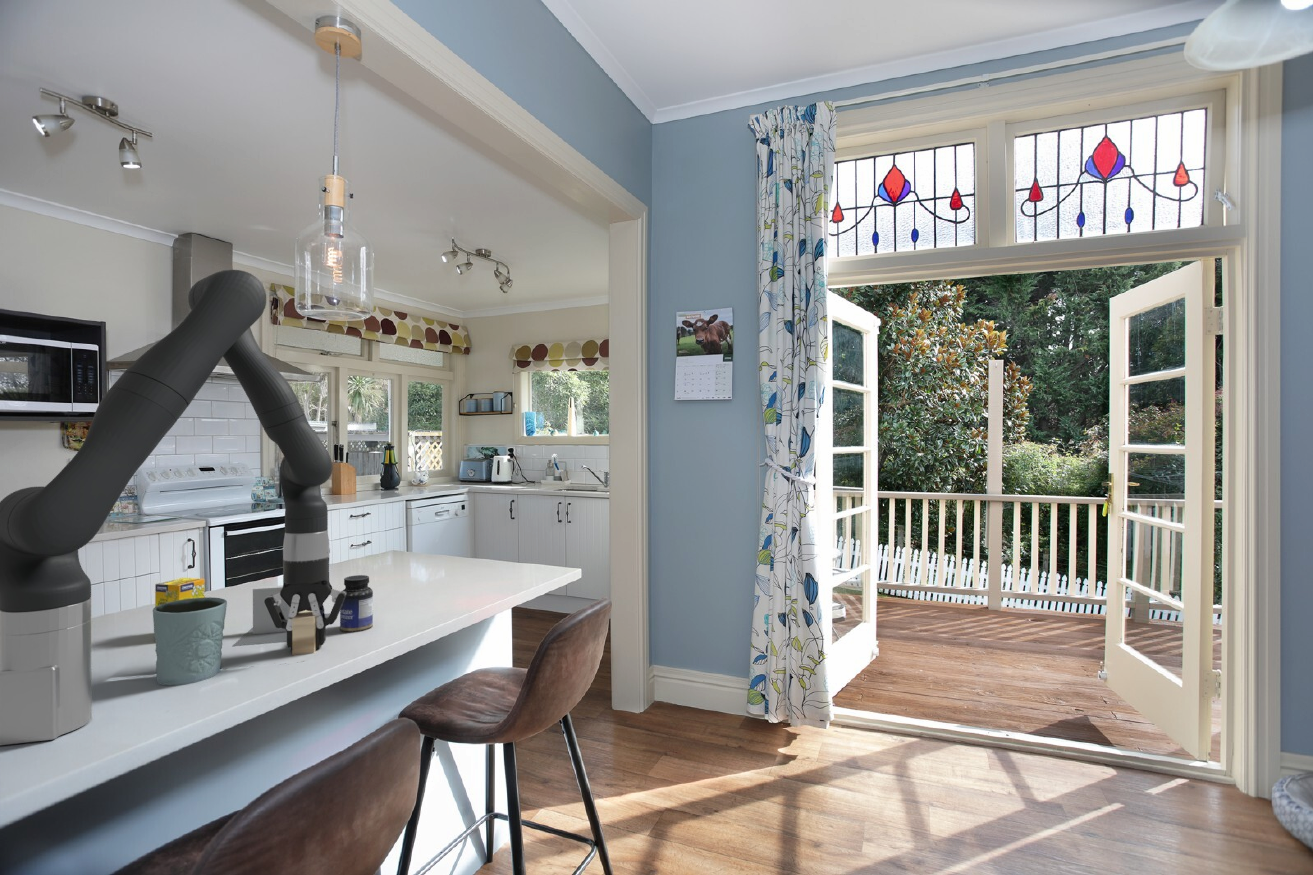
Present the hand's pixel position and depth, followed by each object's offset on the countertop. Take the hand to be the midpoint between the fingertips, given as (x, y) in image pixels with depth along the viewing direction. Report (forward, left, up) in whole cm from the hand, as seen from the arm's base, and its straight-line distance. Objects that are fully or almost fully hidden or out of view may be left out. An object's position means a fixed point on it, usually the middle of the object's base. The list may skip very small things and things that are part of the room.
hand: (306, 647), depth 119 cm
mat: (+16, +7, -1) cm, 17 cm away
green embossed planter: (-7, +16, -1) cm, 17 cm away
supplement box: (+19, +27, -1) cm, 33 cm away
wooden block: (+4, 0, -1) cm, 4 cm away
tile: (+14, +8, 0) cm, 16 cm away
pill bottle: (+12, -7, -1) cm, 14 cm away
